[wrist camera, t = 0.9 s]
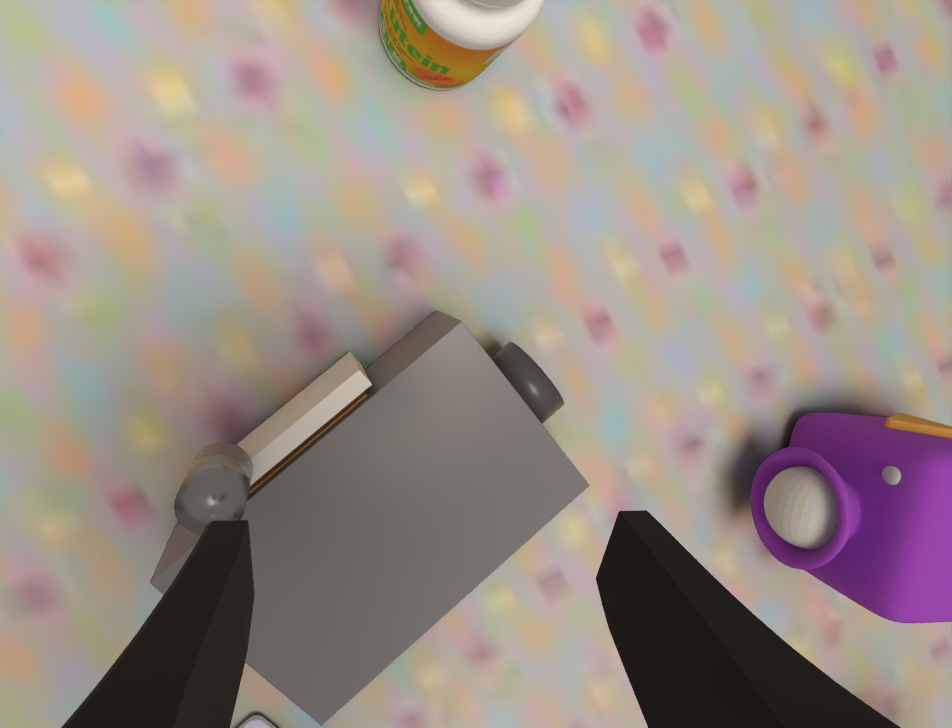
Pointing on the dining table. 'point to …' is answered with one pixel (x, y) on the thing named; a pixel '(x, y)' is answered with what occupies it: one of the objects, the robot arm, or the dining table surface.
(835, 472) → the toy camera
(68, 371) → the dining table surface
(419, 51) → the supplement bottle
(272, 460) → the side door
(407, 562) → the camera housing
